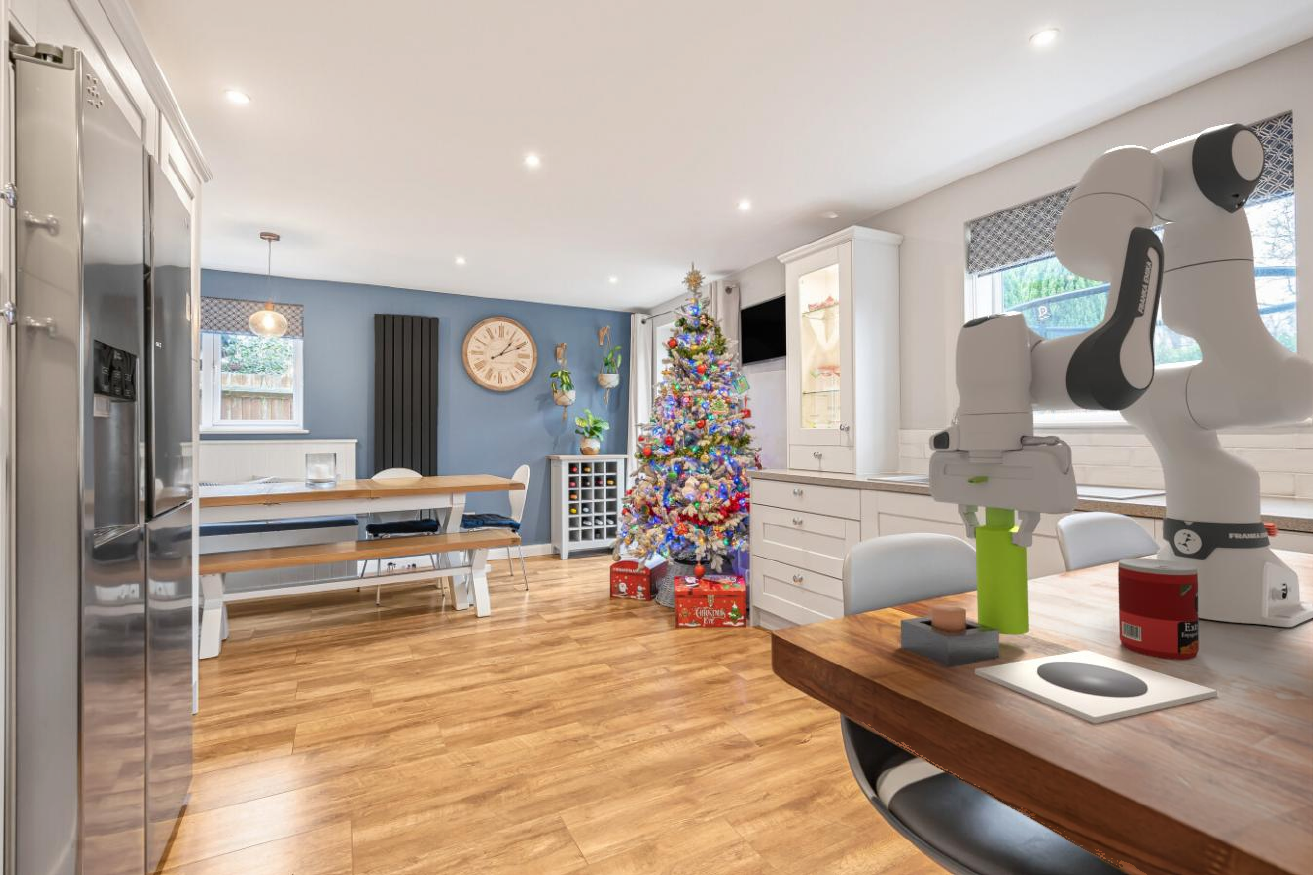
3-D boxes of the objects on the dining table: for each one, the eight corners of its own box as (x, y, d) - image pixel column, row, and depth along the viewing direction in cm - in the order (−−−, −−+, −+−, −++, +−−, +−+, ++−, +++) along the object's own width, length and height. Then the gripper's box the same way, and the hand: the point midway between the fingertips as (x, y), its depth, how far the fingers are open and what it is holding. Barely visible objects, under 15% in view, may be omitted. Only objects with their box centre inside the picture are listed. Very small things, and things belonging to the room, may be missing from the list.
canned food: (1197, 665, 76) (1195, 572, 76) (1115, 651, 82) (1113, 564, 82) (1201, 649, 82) (1199, 562, 82) (1123, 637, 87) (1122, 555, 87)
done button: (948, 626, 84) (948, 603, 84) (973, 635, 80) (973, 611, 80) (924, 630, 83) (923, 606, 83) (948, 638, 79) (947, 614, 79)
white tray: (1086, 654, 80) (1086, 648, 80) (1217, 696, 67) (1217, 688, 67) (975, 674, 74) (975, 667, 74) (1094, 723, 61) (1094, 715, 61)
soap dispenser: (961, 623, 87) (957, 475, 87) (1010, 620, 88) (1006, 473, 88) (987, 636, 81) (983, 477, 81) (1039, 633, 82) (1035, 476, 82)
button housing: (949, 639, 87) (948, 613, 87) (999, 658, 79) (998, 629, 79) (901, 646, 84) (900, 619, 84) (948, 666, 76) (947, 637, 76)
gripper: (1088, 434, 76) (1092, 552, 76) (953, 437, 95) (956, 530, 95) (1049, 436, 74) (1053, 557, 74) (919, 438, 93) (922, 534, 93)
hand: (997, 542), depth 85 cm, fingers closed on soap dispenser, 6 cm apart
